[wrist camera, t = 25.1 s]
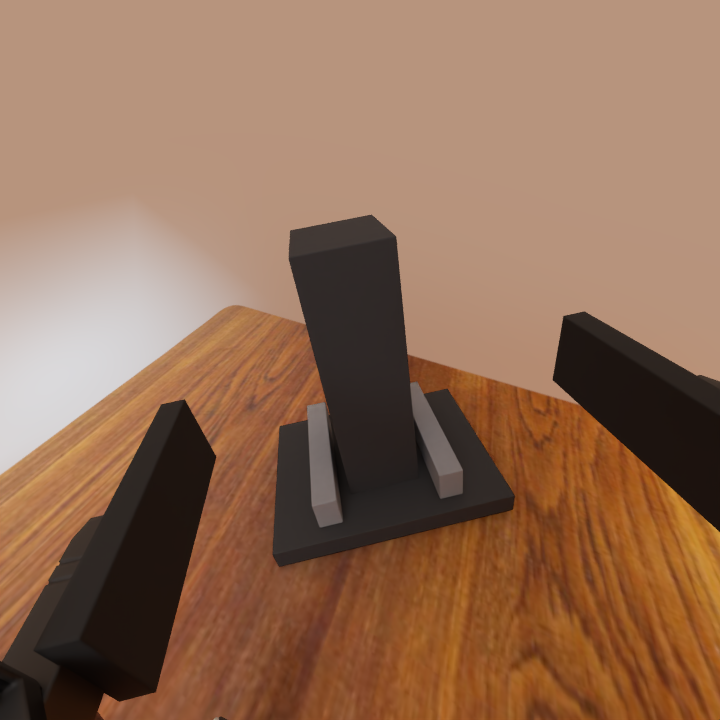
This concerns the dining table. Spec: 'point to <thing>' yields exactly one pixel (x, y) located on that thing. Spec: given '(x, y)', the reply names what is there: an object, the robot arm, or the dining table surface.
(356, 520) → the base pad
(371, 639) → the dining table surface
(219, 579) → the dining table surface
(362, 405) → the standing block
